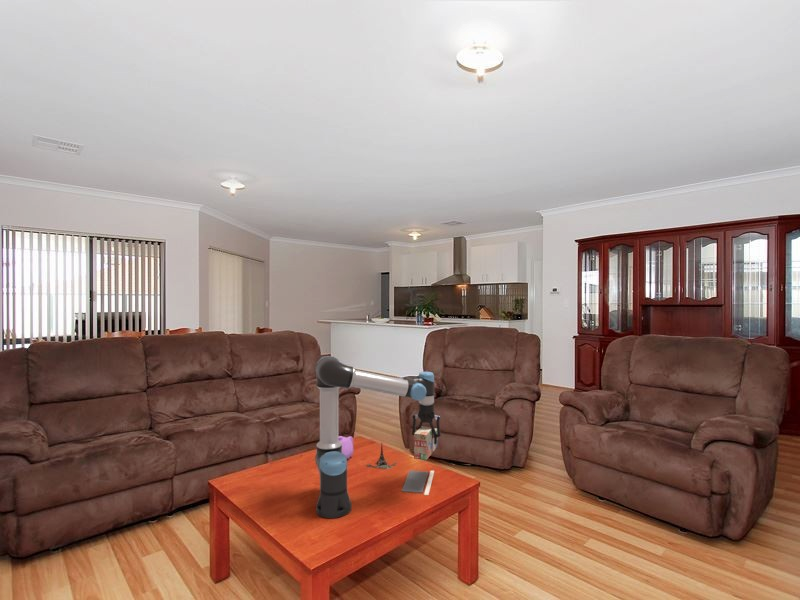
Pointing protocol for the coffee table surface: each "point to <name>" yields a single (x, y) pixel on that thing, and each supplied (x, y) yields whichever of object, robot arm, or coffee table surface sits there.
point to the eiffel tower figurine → (382, 462)
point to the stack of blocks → (423, 443)
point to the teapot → (347, 446)
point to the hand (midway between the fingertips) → (426, 449)
